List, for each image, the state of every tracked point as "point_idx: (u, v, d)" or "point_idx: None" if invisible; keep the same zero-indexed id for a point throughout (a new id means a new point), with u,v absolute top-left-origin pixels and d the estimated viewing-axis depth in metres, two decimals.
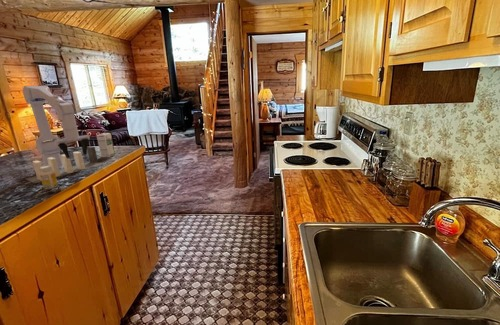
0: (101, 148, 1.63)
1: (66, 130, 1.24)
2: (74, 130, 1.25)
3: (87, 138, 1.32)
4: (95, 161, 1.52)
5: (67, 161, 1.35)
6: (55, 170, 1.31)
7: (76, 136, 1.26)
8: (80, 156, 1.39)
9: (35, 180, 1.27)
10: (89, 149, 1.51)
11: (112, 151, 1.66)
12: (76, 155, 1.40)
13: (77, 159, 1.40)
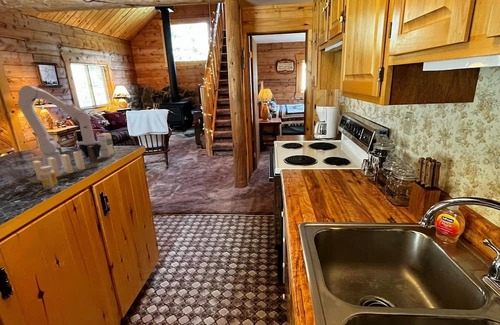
0: (101, 148, 1.63)
1: None
2: (85, 136, 1.47)
3: (99, 144, 1.49)
4: (95, 161, 1.52)
5: (67, 161, 1.35)
6: (55, 170, 1.31)
7: (87, 141, 1.47)
8: (80, 156, 1.39)
9: (35, 180, 1.27)
10: (89, 149, 1.51)
11: (112, 151, 1.66)
12: (76, 155, 1.40)
13: (77, 159, 1.40)
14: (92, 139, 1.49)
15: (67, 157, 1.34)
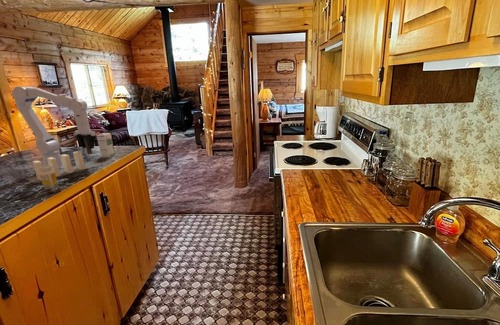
0: (101, 148, 1.63)
1: None
2: (78, 125, 1.38)
3: (91, 135, 1.39)
4: (89, 152, 1.43)
5: (67, 161, 1.35)
6: (55, 170, 1.31)
7: (80, 131, 1.39)
8: (80, 156, 1.39)
9: (35, 180, 1.27)
10: (84, 139, 1.42)
11: (112, 151, 1.66)
12: (76, 155, 1.40)
13: (77, 159, 1.40)
14: (85, 129, 1.40)
15: (67, 157, 1.34)
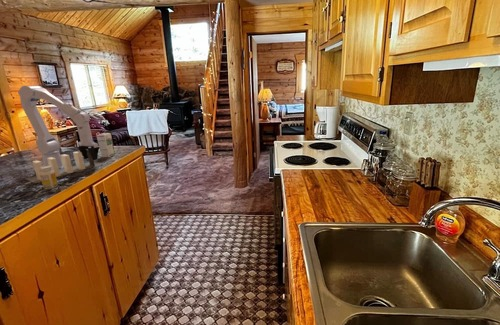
0: (101, 148, 1.63)
1: None
2: (81, 137, 1.40)
3: (93, 146, 1.41)
4: (92, 165, 1.45)
5: (67, 161, 1.35)
6: (55, 170, 1.31)
7: (83, 142, 1.41)
8: (80, 156, 1.39)
9: (35, 180, 1.27)
10: (87, 152, 1.45)
11: (112, 151, 1.66)
12: (76, 155, 1.40)
13: (77, 159, 1.40)
14: (88, 141, 1.42)
15: (67, 157, 1.34)
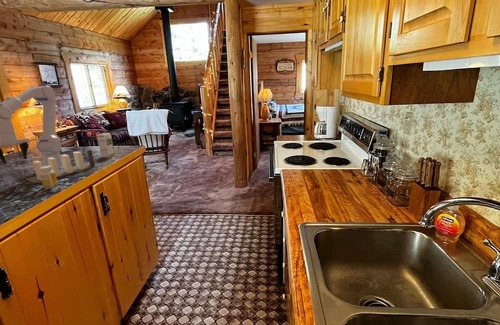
0: (101, 148, 1.63)
1: (1, 134, 1.18)
2: (10, 134, 1.20)
3: (27, 142, 1.27)
4: (92, 165, 1.45)
5: (67, 161, 1.35)
6: (55, 170, 1.31)
7: (13, 140, 1.21)
8: (80, 156, 1.39)
9: (35, 180, 1.27)
10: (87, 152, 1.45)
11: (112, 151, 1.66)
12: (76, 155, 1.40)
13: (77, 159, 1.40)
14: (16, 138, 1.23)
15: (67, 157, 1.34)
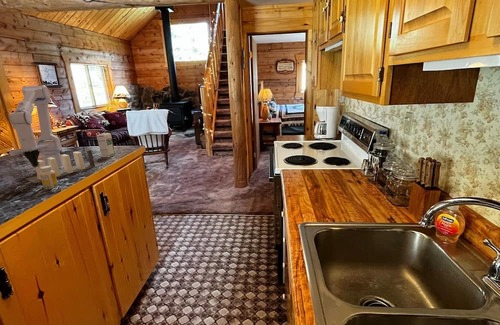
0: (101, 148, 1.63)
1: (22, 140, 1.19)
2: (31, 140, 1.21)
3: (46, 147, 1.28)
4: (92, 165, 1.45)
5: (67, 161, 1.35)
6: (55, 170, 1.31)
7: (33, 146, 1.22)
8: (80, 156, 1.39)
9: (35, 180, 1.27)
10: (87, 152, 1.45)
11: (112, 151, 1.66)
12: (76, 155, 1.40)
13: (77, 159, 1.40)
14: None
15: (67, 157, 1.34)
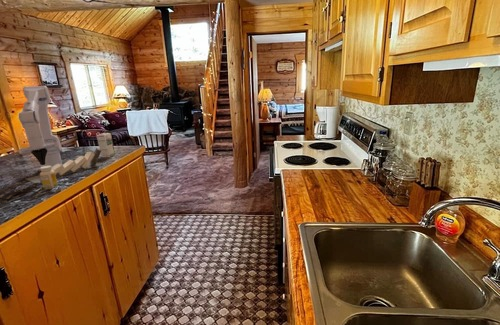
0: (101, 148, 1.63)
1: (31, 138, 1.21)
2: (39, 138, 1.23)
3: (53, 146, 1.30)
4: (93, 164, 1.45)
5: (80, 161, 1.40)
6: (64, 169, 1.34)
7: (42, 144, 1.24)
8: (91, 156, 1.44)
9: (35, 180, 1.27)
10: (96, 150, 1.47)
11: (112, 151, 1.66)
12: (88, 154, 1.45)
13: (86, 157, 1.44)
14: (44, 142, 1.27)
15: (84, 159, 1.41)
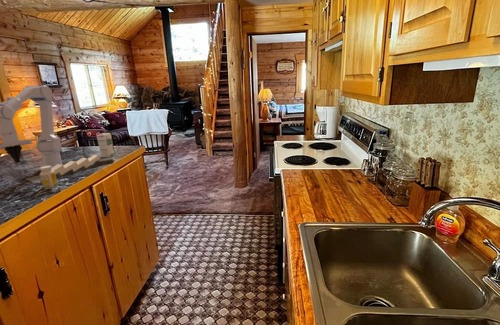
0: (101, 148, 1.63)
1: (3, 135, 1.16)
2: (13, 134, 1.18)
3: (29, 143, 1.25)
4: (96, 163, 1.46)
5: (83, 162, 1.41)
6: (65, 169, 1.34)
7: (15, 141, 1.19)
8: (96, 159, 1.47)
9: (35, 180, 1.27)
10: (109, 158, 1.52)
11: (112, 151, 1.66)
12: (93, 156, 1.47)
13: (91, 158, 1.46)
14: None
15: (87, 161, 1.42)
